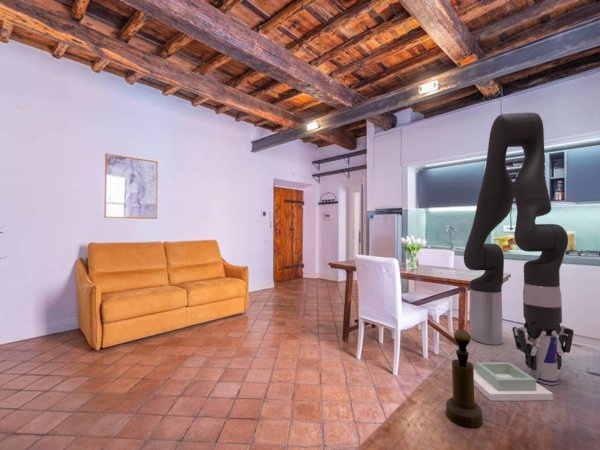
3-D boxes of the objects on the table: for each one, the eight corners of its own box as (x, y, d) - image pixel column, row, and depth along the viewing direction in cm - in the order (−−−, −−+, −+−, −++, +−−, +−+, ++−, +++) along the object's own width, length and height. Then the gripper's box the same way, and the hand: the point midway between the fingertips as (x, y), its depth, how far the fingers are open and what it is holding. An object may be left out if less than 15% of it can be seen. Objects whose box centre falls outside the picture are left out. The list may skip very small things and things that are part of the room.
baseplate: (463, 375, 76) (462, 360, 76) (516, 375, 76) (516, 359, 76) (490, 400, 65) (490, 383, 65) (552, 400, 65) (552, 382, 65)
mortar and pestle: (450, 403, 64) (448, 322, 64) (484, 415, 60) (482, 329, 60) (442, 419, 59) (441, 331, 59) (479, 433, 55) (477, 338, 55)
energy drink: (563, 385, 70) (562, 336, 70) (541, 385, 70) (540, 336, 70) (545, 374, 76) (544, 328, 76) (525, 374, 76) (524, 329, 76)
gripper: (557, 298, 77) (558, 361, 77) (503, 298, 77) (504, 361, 77) (584, 305, 69) (586, 375, 69) (524, 306, 70) (526, 376, 69)
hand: (543, 368), depth 73 cm, fingers closed on energy drink, 5 cm apart
